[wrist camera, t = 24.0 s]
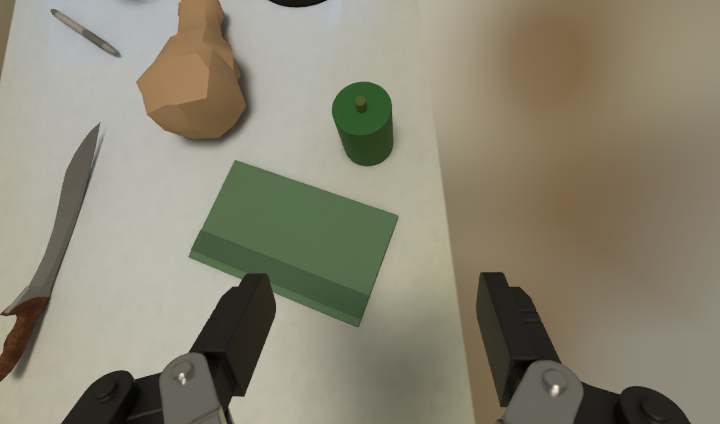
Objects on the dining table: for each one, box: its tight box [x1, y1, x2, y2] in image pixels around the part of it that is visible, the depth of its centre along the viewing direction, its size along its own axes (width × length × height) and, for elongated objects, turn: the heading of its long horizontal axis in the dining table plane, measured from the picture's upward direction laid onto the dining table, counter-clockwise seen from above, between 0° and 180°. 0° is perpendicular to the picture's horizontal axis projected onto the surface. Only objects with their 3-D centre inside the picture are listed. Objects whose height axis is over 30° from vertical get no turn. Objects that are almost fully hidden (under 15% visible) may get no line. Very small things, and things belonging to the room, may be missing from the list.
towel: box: [189, 160, 398, 327], centre depth 37 cm, size 20×12×1 cm, turn 69°
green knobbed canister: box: [332, 82, 393, 166], centre depth 35 cm, size 6×6×9 cm
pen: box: [51, 9, 116, 54], centre depth 47 cm, size 1×14×1 cm, turn 55°
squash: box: [136, 0, 246, 139], centre depth 40 cm, size 11×20×9 cm, turn 11°
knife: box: [0, 123, 100, 381], centre depth 38 cm, size 4×1×30 cm
